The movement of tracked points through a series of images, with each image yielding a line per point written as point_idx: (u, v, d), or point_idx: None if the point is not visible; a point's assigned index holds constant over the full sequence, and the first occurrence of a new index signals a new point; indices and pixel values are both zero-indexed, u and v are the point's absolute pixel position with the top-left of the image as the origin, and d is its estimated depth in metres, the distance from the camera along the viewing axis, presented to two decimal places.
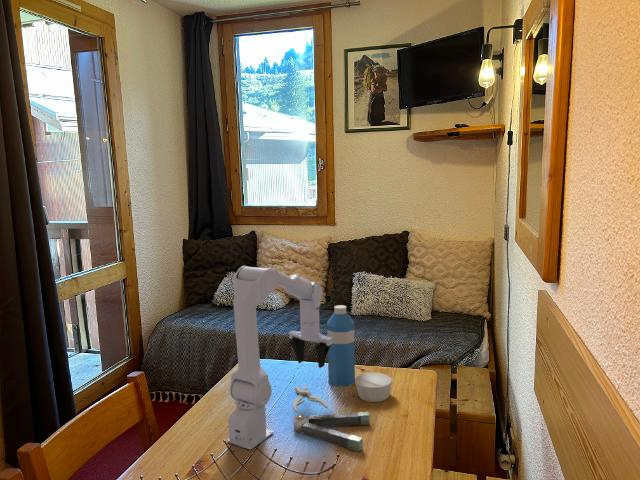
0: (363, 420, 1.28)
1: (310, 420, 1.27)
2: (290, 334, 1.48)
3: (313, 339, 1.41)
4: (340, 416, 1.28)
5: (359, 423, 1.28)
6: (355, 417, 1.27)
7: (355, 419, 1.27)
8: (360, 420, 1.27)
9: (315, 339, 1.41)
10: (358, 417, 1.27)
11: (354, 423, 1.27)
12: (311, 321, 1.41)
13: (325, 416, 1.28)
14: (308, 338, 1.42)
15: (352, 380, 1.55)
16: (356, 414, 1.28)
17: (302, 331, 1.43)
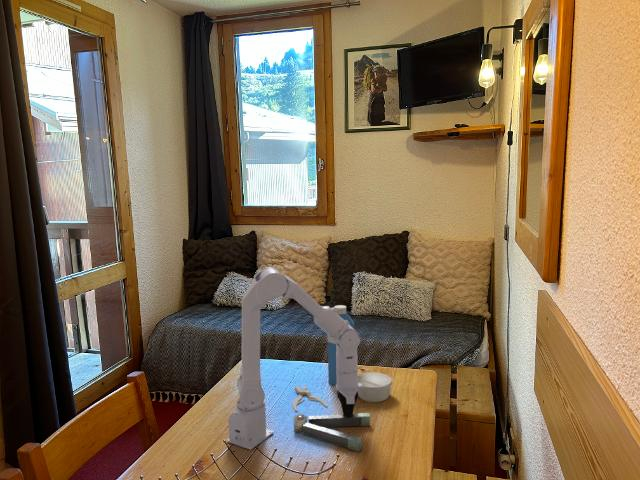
0: (363, 421, 1.27)
1: (310, 420, 1.27)
2: None
3: (339, 390, 1.26)
4: (340, 417, 1.27)
5: (359, 424, 1.27)
6: (355, 418, 1.27)
7: (356, 420, 1.27)
8: (360, 421, 1.27)
9: (341, 391, 1.25)
10: (358, 418, 1.27)
11: (354, 424, 1.27)
12: (341, 370, 1.25)
13: (325, 416, 1.28)
14: (337, 387, 1.27)
15: None
16: (356, 415, 1.28)
17: None
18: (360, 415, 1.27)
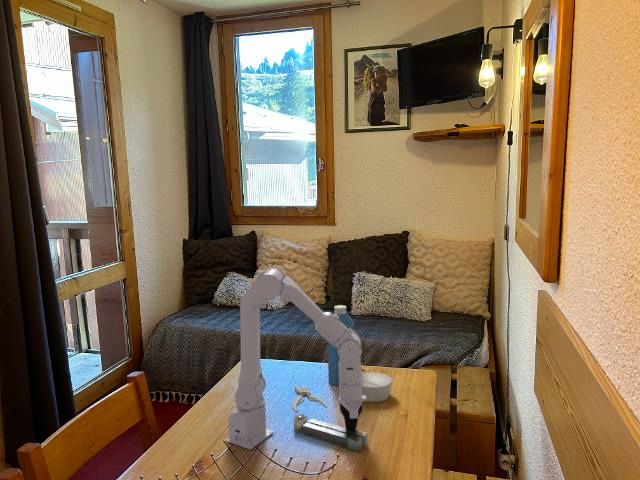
0: None
1: None
2: None
3: (342, 403, 1.18)
4: (337, 428, 1.21)
5: None
6: (349, 434, 1.19)
7: None
8: None
9: (343, 404, 1.18)
10: None
11: None
12: (342, 381, 1.19)
13: (324, 424, 1.24)
14: (340, 400, 1.20)
15: None
16: (353, 431, 1.19)
17: None
18: (355, 433, 1.18)
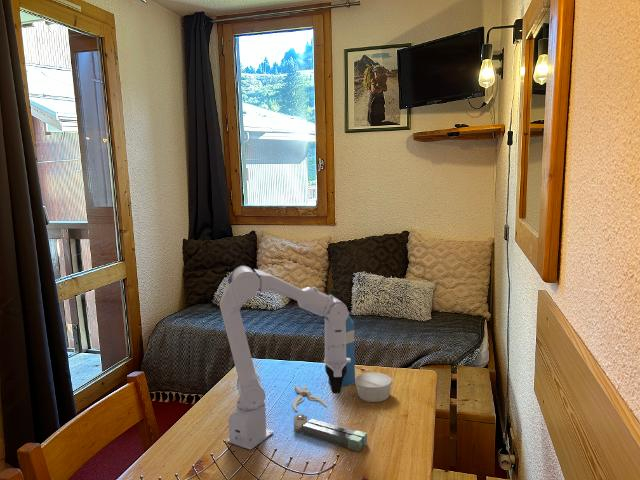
0: None
1: None
2: None
3: (327, 364, 1.25)
4: (337, 428, 1.21)
5: None
6: (349, 434, 1.19)
7: None
8: None
9: (328, 365, 1.24)
10: None
11: None
12: (330, 344, 1.25)
13: (324, 424, 1.24)
14: (325, 361, 1.26)
15: (352, 380, 1.55)
16: (353, 431, 1.19)
17: None
18: (355, 433, 1.18)
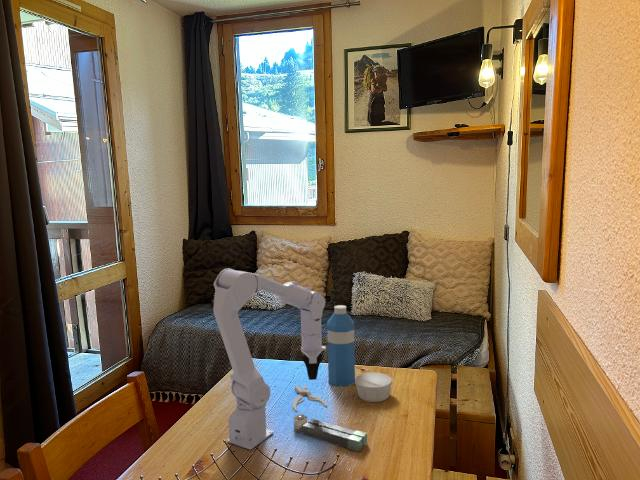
0: None
1: None
2: None
3: (304, 352, 1.32)
4: (337, 428, 1.21)
5: None
6: (349, 434, 1.19)
7: None
8: None
9: (304, 352, 1.32)
10: None
11: None
12: (310, 333, 1.32)
13: (324, 424, 1.24)
14: (302, 349, 1.34)
15: (352, 380, 1.55)
16: (353, 431, 1.19)
17: None
18: (355, 433, 1.18)
